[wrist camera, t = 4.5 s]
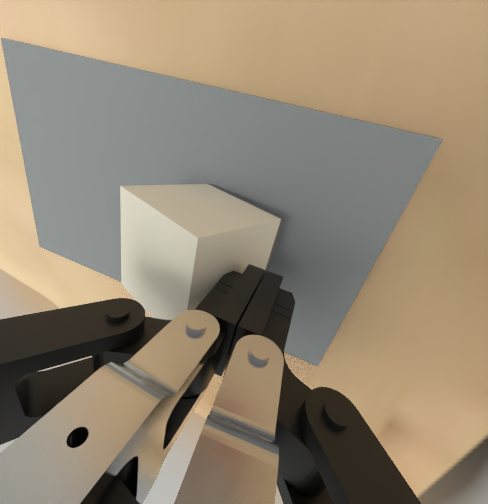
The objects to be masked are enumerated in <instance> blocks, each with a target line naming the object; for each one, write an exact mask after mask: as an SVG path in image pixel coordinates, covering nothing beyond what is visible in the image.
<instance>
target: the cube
mask: <svg viewBox="0 0 488 504" xmlns="http://www.w3.org/2000/svg"><path fill="white" fill-rule="evenodd" d="M120 209H121V284H122V285H123V287H124V288H125V289H126V290H127V291H128V292H129V293H130V294H131V295H132V297H133V298H134V299H135V300H136V301H137V302H139V303H140V304H141V305H142V306H143V307H144V310H145V311H146V312H147V313H148V314H149V315H150V316H151V317H152V318H157V319H165V320H173V319H174V318H175V317H176V316H177V315H178V314H180V313H182V312H185V311H188V310H195V308H196V307H197V306H198V305H199V304H200V302H201V301H202V300H203V299H204V298H205V297H206V295H207V294H208V293H209V292H210V291H211V289H213V287H214V286H215V285H216V283H218V281H219V280H220V279H221V277H222V276H223V275H224V274H226V273H229V272H231V271H236V272H238V273H241V274H242V273H243V272H244V270H245V269H246V268H247V266H248V265H249V264H251V265H253V266H256V267H259V268H262V269H264V270H266V271H268V269H269V266H270V263H271V260H272V257H273V253H274V250H275V247H276V244H277V241H278V238H279V235H280V232H281V228H282V225H283V222H284V219H285V218H283V217H281V216H279V215H277V214H275V213H272V212H270V211H268V210H266V209H264V208H262V207H260V206H258V205H255V204H253V203H251V202H249V201H247V200H245V199H243V198H241V197H238V196H236V195H234V194H232V193H230V192H228V191H226V190H224V189H222V188H219V187H217V186H215V185H213V184H178V185H132V186H120ZM265 273H266V272H265Z"/></svg>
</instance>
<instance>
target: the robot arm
mask: <svg viewBox="0 0 488 504" xmlns="http://www.w3.org/2000/svg"><path fill="white" fill-rule="evenodd" d="M265 272H266V273H265ZM282 280H283V276H281V275H278V274H275V273H273V272H270V271H266V270H264V269H262V268H259V267H256V266H253V265H251V264H249V265H248V266H247V268H246V269H245V270H244V272H243V273H242V274H241V273H238V272H236V271H231V272H229V273H226V274H224V275H223V276H222V277H221V279H220V280H219V281H218V283H216V285H215V286H214V287H213V289H211V291H210V292H209V293H208V294H207V295H206V297H205V298H204V299H203V300H202V301H201V302H200V304H199V305H198V306H197V307H196V308H195V310H188V311H185V312H182V313H180V314H178V315H177V316H176V317H175V318H174V319H173V320H165V319H157V318H151V317H145V310H144V307H143V306H142V305H141V304H140V303H139V302H137V301H135V300H132V299H126V298H118V299H111V300H106V301H100V302H95V303H89V304H84V305H78V306H73V307H67V308H62V309H56V310H51V311H45V312H40V313H34V314H29V315H23V316H17V317H12V318H7V319H1V320H0V445H1V444H3V443H5V442H8V441H11V440H14V439H16V438H18V439H17V440H15V441H14V442H13V443H12V444H11V445H9V446H8V447H7V448H6V449H5V450H4V451H3V452H1V453H0V504H142V503H143V501H144V500H145V498H146V496H147V495H148V493H149V491H150V489H151V488H152V486H153V484H154V482H155V480H156V478H157V475H158V474H159V471H160V469H161V466H162V464H163V462H164V460H165V458H166V456H167V454H168V452H169V451H170V449H171V447H172V446H173V444H174V442H175V441H176V439H177V437H178V436H179V434H180V433H181V431H182V429H183V428H184V426H185V424H186V423H187V421H188V419H189V418H190V416H191V415H192V413H193V412H194V410H195V408H196V407H197V405H198V403H199V402H200V400H201V399H202V397H203V395H204V393H205V390H206V388H207V386H208V385H209V383H210V381H211V379H212V377H213V375H214V373H215V374H217V375H220V376H222V374H223V372H224V370H225V373H224V376H223V380H222V383H221V385H220V388H219V391H218V393H217V396H216V399H215V402H214V404H213V407H212V409H211V412H210V414H209V415H208V417H207V419H206V422H205V424H204V427H203V429H202V432H201V434H200V437H199V440H198V442H197V445H196V447H195V450H194V453H193V456H192V458H191V461H190V464H189V466H188V469H187V471H186V474H185V477H184V479H183V482H182V484H181V487H180V490H179V492H178V495H177V498H176V500H175V503H174V504H274V503H275V493H276V483H277V486H278V489H279V492H280V495H281V497H282V501H283V503H284V504H421V503H420V501H419V500H418V498H417V497H416V495H415V494H414V492H413V491H412V489H411V488H410V487H409V485H408V484H407V482H406V481H405V479H404V478H403V476H402V475H401V473H400V472H399V470H398V469H397V467H396V466H395V464H394V463H393V461H392V460H391V459H390V457H389V456H388V454H387V453H386V451H385V450H384V448H383V447H382V445H381V444H380V442H379V441H378V439H377V438H376V436H375V435H374V433H373V432H372V431H371V429H370V428H369V426H368V425H367V423H366V422H365V420H364V419H363V417H362V416H361V414H360V413H359V411H358V410H357V409H356V407H355V406H354V405H353V403H352V402H351V401H350V400H349V399H348V398H346V397H345V396H344V395H343V394H341V393H340V392H338V391H336V390H333V389H331V388H327V387H318V388H315V389H313V390H311V389H310V388H309V387H307V386H306V385H305V384H304V383H302V382H301V381H300V380H299V379H298V378H296V377H295V376H294V374H293V373H292V372H291V371H290V369H289V368H288V366H287V364H286V361H285V358H284V349H285V344H286V340H287V336H288V332H289V327H290V323H291V319H292V315H293V310H294V306H295V300H294V297H293V294H292V293H291V292H289V291H286V290H283V289H281V288H280V286H281V283H282ZM88 356H92V357H91V358H88V359H84V360H81V361H78V362H74V363H71V364H67V365H64V366H60V367H57V368H53V369H50V370H46V371H40V372H37V371H39V370H43V369H46V368H50V367H53V366H57V365H60V364H64V363H67V362H70V361H74V360H78V359H81V358H85V357H88ZM225 368H226V369H225Z"/></svg>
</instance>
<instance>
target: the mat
mask: <svg viewBox="0 0 488 504" xmlns="http://www.w3.org/2000/svg"><path fill="white" fill-rule="evenodd" d="M1 41H2V46H3V52H4V57H5V63H6V68H7V73H8V79H9V84H10V90H11V95H12V100H13V106H14V111H15V116H16V122H17V127H18V133H19V138H20V143H21V149H22V154H23V159H24V165H25V170H26V176H27V181H28V186H29V192H30V197H31V203H32V208H33V213H34V219H35V224H36V229H37V235H38V240H39V246H40V247H42V248H44V249H46V250H49V251H51V252H53V253H56V254H58V255H60V256H63V257H65V258H67V259H70V260H72V261H74V262H77V263H79V264H81V265H84V266H86V267H88V268H91V269H93V270H95V271H97V272H100V273H102V274H104V275H107V276H109V277H111V278H114V279H116V280H118V281H121V209H120V186H132V185H178V184H213V185H215V186H217V187H219V188H222V189H224V190H226V191H228V192H230V193H232V194H234V195H236V196H238V197H241V198H243V199H245V200H247V201H249V202H251V203H253V204H255V205H258V206H260V207H262V208H264V209H266V210H268V211H270V212H272V213H275V214H277V215H279V216H281V217H283V218H285V219H284V222H283V225H282V228H281V232H280V235H279V238H278V241H277V244H276V247H275V250H274V253H273V257H272V260H271V263H270V266H269V269H268V271H270V272H273V273H275V274H278V275H281V276H283V280H282V283H281V286H280V288H281V289H283V290H286V291H289V292H291V293H292V294H293V297H294V300H295V306H294V310H293V315H292V319H291V323H290V327H289V332H288V336H287V340H286V344H285V349H284V352H285V353H288V354H290V355H292V356H295V357H297V358H299V359H302V360H304V361H306V362H309V363H311V364H313V365H316V366H318V365H319V363H320V361H321V359H322V358H323V356H324V354H325V352H326V350H327V348H328V347H329V345H330V343H331V341H332V339H333V338H334V336H335V334H336V332H337V330H338V329H339V327H340V325H341V323H342V321H343V319H344V318H345V316H346V314H347V312H348V310H349V309H350V307H351V305H352V303H353V301H354V300H355V298H356V296H357V294H358V292H359V290H360V289H361V287H362V285H363V283H364V281H365V280H366V278H367V276H368V274H369V272H370V271H371V269H372V267H373V265H374V263H375V261H376V260H377V258H378V256H379V254H380V252H381V251H382V249H383V247H384V245H385V243H386V242H387V240H388V238H389V236H390V234H391V232H392V231H393V229H394V227H395V225H396V223H397V222H398V220H399V218H400V216H401V214H402V213H403V211H404V209H405V207H406V205H407V203H408V202H409V200H410V198H411V196H412V194H413V193H414V191H415V189H416V187H417V185H418V184H419V182H420V180H421V178H422V176H423V174H424V173H425V171H426V169H427V167H428V165H429V164H430V162H431V160H432V158H433V156H434V155H435V153H436V151H437V149H438V147H439V146H440V144H441V142H442V140H443V139H439V138H435V137H430V136H426V135H422V134H417V133H413V132H409V131H404V130H400V129H396V128H391V127H387V126H383V125H378V124H374V123H370V122H365V121H361V120H357V119H352V118H348V117H344V116H339V115H335V114H330V113H326V112H322V111H317V110H313V109H309V108H304V107H300V106H296V105H291V104H287V103H283V102H278V101H274V100H270V99H265V98H261V97H257V96H252V95H248V94H244V93H239V92H235V91H231V90H226V89H222V88H218V87H213V86H209V85H205V84H200V83H196V82H192V81H187V80H183V79H179V78H174V77H170V76H166V75H161V74H157V73H153V72H148V71H144V70H140V69H135V68H131V67H127V66H122V65H118V64H113V63H109V62H105V61H100V60H96V59H92V58H87V57H83V56H79V55H74V54H70V53H66V52H61V51H57V50H53V49H48V48H44V47H40V46H35V45H31V44H27V43H22V42H18V41H14V40H9V39H5V38H1Z"/></svg>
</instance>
